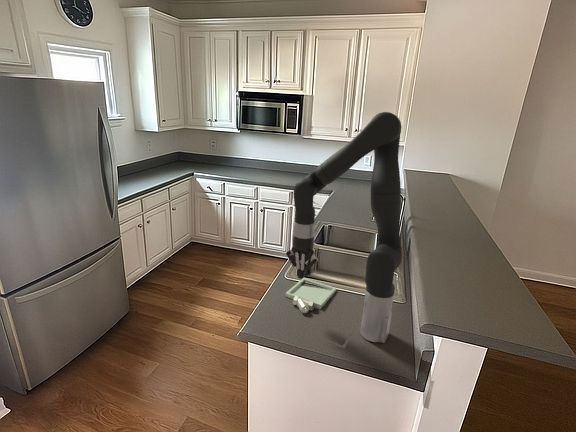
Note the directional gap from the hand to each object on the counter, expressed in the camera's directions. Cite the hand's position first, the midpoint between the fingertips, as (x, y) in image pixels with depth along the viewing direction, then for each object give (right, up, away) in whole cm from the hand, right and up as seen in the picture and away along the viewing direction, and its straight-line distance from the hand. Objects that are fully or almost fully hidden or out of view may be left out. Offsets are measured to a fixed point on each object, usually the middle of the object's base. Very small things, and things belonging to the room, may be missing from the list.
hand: (300, 277), depth 125 cm
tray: (+5, -10, +18) cm, 21 cm away
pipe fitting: (-1, -13, +4) cm, 13 cm away
